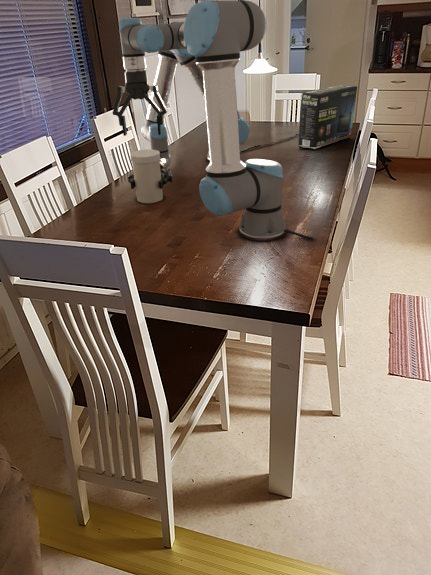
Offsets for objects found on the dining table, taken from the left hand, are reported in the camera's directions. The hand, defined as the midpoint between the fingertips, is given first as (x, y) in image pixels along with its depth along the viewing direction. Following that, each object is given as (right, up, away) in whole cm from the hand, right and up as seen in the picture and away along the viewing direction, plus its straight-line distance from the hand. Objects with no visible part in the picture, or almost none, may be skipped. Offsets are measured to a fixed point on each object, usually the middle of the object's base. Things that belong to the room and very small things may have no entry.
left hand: (146, 185), depth 174 cm
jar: (+1, -4, +7) cm, 8 cm away
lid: (0, +11, -2) cm, 11 cm away
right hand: (0, +17, -6) cm, 18 cm away
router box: (+85, +38, +71) cm, 117 cm away
